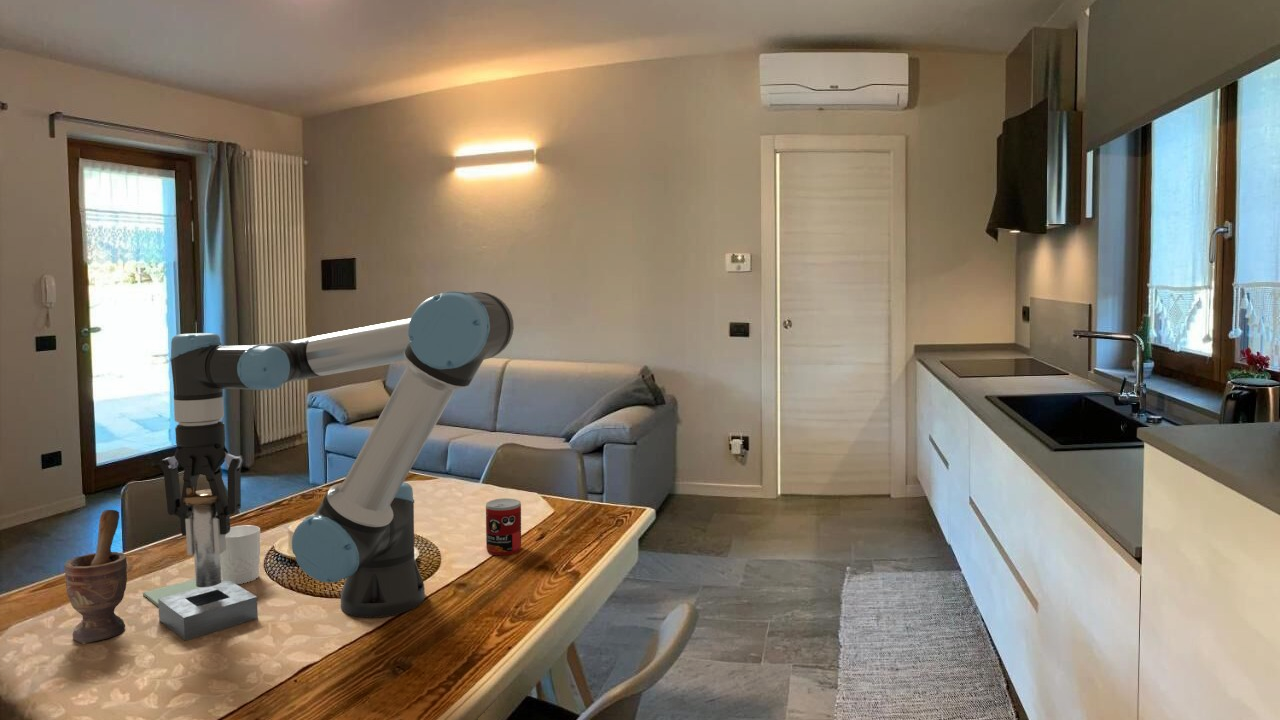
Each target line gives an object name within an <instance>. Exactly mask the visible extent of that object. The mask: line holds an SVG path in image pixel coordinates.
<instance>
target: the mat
mask: <svg viewBox="0 0 1280 720" xmlns="http://www.w3.org/2000/svg"><path fill="white" fill-rule="evenodd" d="M197 588H201V587H197V586H196V579H195V578H194V579H190V580H185V581H182V582H178V583H174V584H170V585H166V586H162V587H157V588H155V589H149V590H147V591H143V592H142V595H144V598H146V597H147V598H148V600H149V601H150V602H151V603H153V604H154V605H155V606H156V607H158V608H159V605H158V599H160V598H163V597H167V596H171V595H175V594H178V593H182V592H186V591H190V590H194V589H197ZM147 598H146V599H147Z"/></svg>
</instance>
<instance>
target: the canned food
mask: <svg viewBox="0 0 1280 720" xmlns="http://www.w3.org/2000/svg"><path fill="white" fill-rule="evenodd" d="M521 502H522V501H520V500H519V499H516V498H496V499H492V500H490V501H487V502H486V503H485V530H486V531H485V538H486V539H485V541H486V545H485V546H486V547H485V548H486V550H487V551H486V552H488V553H489V554H491V555H494V556H510V555H513V554H516V553H518V552H519V551H521V548H522V547H521V546H522V504H521Z"/></svg>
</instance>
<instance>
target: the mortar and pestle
mask: <svg viewBox="0 0 1280 720" xmlns="http://www.w3.org/2000/svg"><path fill="white" fill-rule="evenodd" d="M119 520H120V512H119V511H118V510H115V509H105V510H103V511H102V512H101V514H100V516H99V520H98V529H97V530H98V533H97V544H96V552H93V553H87V554H84V555H79V556H75V557H74V558H71V559H69V560H66V561H65V562H64V572H65V574H64V576H65V586H66V587H65V588H66V594H67V598H68V599H69V602H70V605H71V606H72V609H74V610H75V611H76V612H77V613H79V614H80V615H81V616H82V619H81V621H80V622H79V623H78V624H77V625H76V626H75V627H74V629H73V632H72V639H73V640H74V641H76V642H79V643H81V644H84V645H85V644H89V643H93V642H97V641H102V640H105V639H106V640H107V639H109V638H112V637H113V638H114V637H116V636H118V635H119V634H122V633H123V631H124V630H125V628H126V624H125V622H124V620H123V618H121V616H119V615H117V614H116V613H115V609H116V607H118V605H119V604H120V603H122V601H123V599H124V596H125V591H126V588H127V582H128V570H127V569H128V562H127V554H126V553H125V554H124V553H123V552H117V551H112V550H111V549H112V544H113V541H114V537H115V534H116V532H117V529H118V527H119V526H118V525H119Z"/></svg>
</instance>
